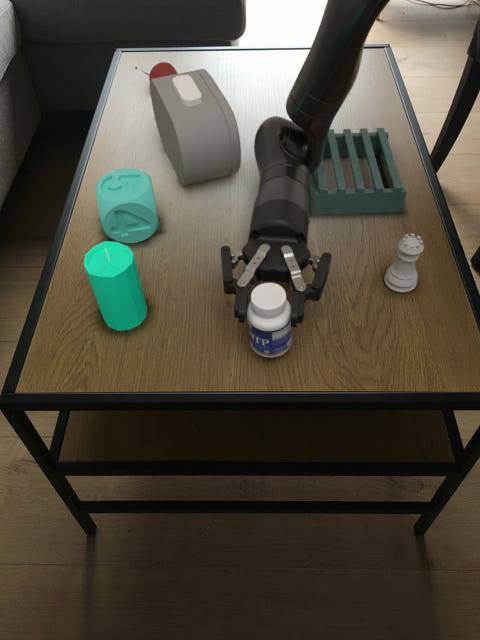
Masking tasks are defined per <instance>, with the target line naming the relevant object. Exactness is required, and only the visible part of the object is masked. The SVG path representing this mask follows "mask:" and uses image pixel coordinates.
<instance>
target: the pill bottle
mask: <svg viewBox="0 0 480 640" xmlns="http://www.w3.org/2000/svg"><path fill="white" fill-rule="evenodd" d="M291 313H292V305H291V304H290V302H289V300H288V299H287V292H286V290H285V288H283V287H282V286H281V285H280V284H278V283H275V282H264V283H263V282H262V283H260V284H259V285H258V286H257V287H255V288H254V289H253V291H252V292H251V294H250V302H248V308H247V315H246V322H247V329H248V337H249V344H250V347H251V349H252V350H253V351H254V353H256V354H257V355H259V356H261V357H264V358H277V357H281V356H283V355H284V354H286V353H287V352H288V351H289V349H290V348H291V346H292V344H293V343H292V342H293V327H291Z"/></svg>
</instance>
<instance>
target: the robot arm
mask: <svg viewBox="0 0 480 640" xmlns="http://www.w3.org/2000/svg"><path fill="white" fill-rule="evenodd" d="M390 1H391V0H327V2H326V4H325V8H324V11H323V15H322V17H321V20H320V23H319V26H318V29H317V31H316V34H315V37H314V39H313V42H312V44H311V47H310V49H309V51H308V54H307V56H306V58H305V60H304V61H303V63H302V65H301V68H300V70H299V72H298V74H297V76H296V79H295V81H294V83H293V84H292V87H291V88H290V91H289V94H288V96H287V98H286V101H285V111H286V114H287V116H288V117H289V119H288V118H286V117H285V118H284V117H282V116H277V115H276V116H270V117H267V118H266V119H264V120H263V121H262V123H260V124H259V127H258V128H257V130H256V133H255V135H254V140H253V142H254V143H253V153H254V159H255V164H256V167H257V170H258V174H259V175H258V176H259V184H258V190H257V195H256V197H255V201H254V203H253V207H252V208H253V209H252V214H251V220H250V226H249V230H248V237H247V241H246V243H245V244H244V245H243V246H242V248H241V249H232V250H231V247H230V246H229V245H223V246H221V247H220V259H221V271H222V284H223V293H224V294H225V295H227V296H229V295H230V296H231V295H234V302H233V316H234V317H235V319H238V323H239V324H246V322H247V308H248V305H249V303H250V302H249V301H250V296H251V293H252V291H253V290H254V288H255V287H257V286H258V285H260V284H261V282H277V283H281V284H282V283H283V284H286V287H287V289H288V291H289V292H290V293H291V295H292V302H291V309H292V313H291V327H292V328H295V329H296V328H298V327H297V326H298V324H302V323H303V322H304V317H305V306H306V305H305V304H306V302H308V301H312V302H319V301H321V298H322V296H323V292H324V289H325V286H326V283H327V280H328V277H329V275H330V272H331V264H332V258H333V257H332V254H331V252H323V253H321V255H317V254H312V253H311V251H310V249H309V248H308V240H309V239H308V238H309V226H310V214H311V213H310V212H311V205H310V197H309V189H310V175H311V174H312V173H314V172H315V173H316V170H317V169H318V167H319V166H320V164H321V161H322V160H323V158H324V157H323V154H324V149H325V144H326V139H327V135H328V132H329V129H331V126H332V124H333V121H334V119H335V118H336V116H337V114H338V112H339V111H340V109H341V107H342V106H343V104H344V103H345V101H346V99H347V98H348V96H349V94H350V92H351V91H352V89H353V88H354V85H355V82H356V81H357V78H358V75H359V72H360V69H361V64H362V59H363V53H364V49H365V44H366V41H367V39H368V37H369V35H370V32H371V29H372V28H373V26H374V25H375V23H376V21H377V20H378V18H379V16H380V15H381V13H382V12H383V11H384V9H385V8H386V7H387V5H388V4H389V3H390ZM476 1H477V2H478V3H480V0H476ZM241 261H242V262H243V263H244V264H245V265H246V266H245V269H244V272H243V273H242V275H241V276H240V277H239V278H238V279H237V278H235V277H234V272H233V270H235V269H236V267H238V265H239V262H241ZM308 266H311V270H312V272H313V273H314V276H313V279H312V281H311V283H308V284H306V282H305V280H304V278H303V276H302V275H303V274H302V271H303V270H305V269H306V268H307V267H308Z"/></svg>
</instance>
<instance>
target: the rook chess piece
mask: <svg viewBox="0 0 480 640" xmlns="http://www.w3.org/2000/svg"><path fill="white" fill-rule="evenodd" d="M415 235H416V234H415V233H410V235H409V233H407V234H404V236H403V237H402V238H401V239H399V241H398V243H397V247H398V248H399V249H398V250H397V257H396V260H395V262H393V263H392V265H390V266H389V267H388V268H387V269H386V271H385V274H384V279H383V281H384V282H385V285H386V286H387V287H388V288H389V289H390V290H391V291H393V292H396V293H399V294H400V293H401V294H403V293H408V292H409V293H410V292H411V291H412V290H415V288H416V286H417V284H418V279H419V276H418V275H419V273H418V272H417V268H416V266H417V265H416V264H417V261H418V259H419V258H420V254H421V253H423V251H424V250H425V245H424V242H423V241H424V240H423V239H422V236H420V235H417V236H415Z"/></svg>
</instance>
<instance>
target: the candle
mask: <svg viewBox="0 0 480 640" xmlns="http://www.w3.org/2000/svg"><path fill="white" fill-rule="evenodd" d="M83 266H84V269H85V273H86V275H87V278H88V281H89V284H90V286H91V289H92V291H93V294H94V297H95V299H96V302H97V305H98V308H99V311H100V313H101V316H102V318H103V320H104V323H105V324H106V326H107V327H108V328H110V329H113V330H115V331H119V332H120V331H130V330H132V329H135V328H136V327H138V326H141V324H142V323H143V322H144V321H145V319H146V318H147V315H148V306H147V301H146V298H145V294H144V290H143V286H142V282H141V278H140V273H139V270H138V265H137V262H136V257H135V254H134V252H133V251H132V249H131V248H130V247H129V246H128V245H125V244H124V243H122V242H118V241H111V240H104V241H102V242H100V243H98V244H96V245H94V246H92V247H91V248H90V250H89V251H88V252H86V253H85V255H84V260H83Z"/></svg>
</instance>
